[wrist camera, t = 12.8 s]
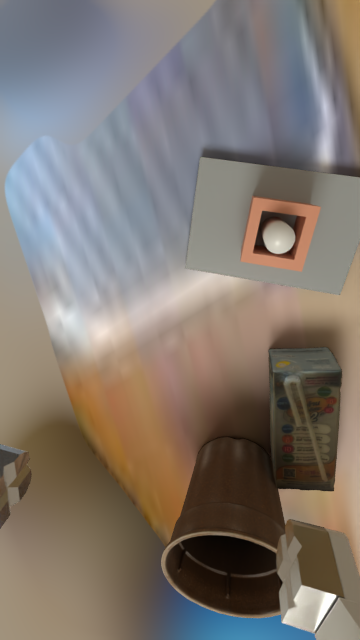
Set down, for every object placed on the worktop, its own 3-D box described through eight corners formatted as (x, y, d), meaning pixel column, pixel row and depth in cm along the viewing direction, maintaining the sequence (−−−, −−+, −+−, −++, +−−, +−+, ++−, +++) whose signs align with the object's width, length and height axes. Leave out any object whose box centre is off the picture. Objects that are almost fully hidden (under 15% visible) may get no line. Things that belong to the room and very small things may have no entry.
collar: (310, 203, 32) (321, 206, 28) (294, 260, 35) (301, 271, 30) (252, 195, 33) (253, 197, 28) (240, 251, 35) (240, 261, 31)
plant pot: (241, 513, 54) (241, 634, 40) (166, 464, 53) (136, 570, 38) (309, 465, 47) (338, 590, 33) (224, 407, 46) (214, 510, 31)
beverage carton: (332, 344, 39) (348, 373, 33) (325, 457, 46) (337, 498, 40) (267, 346, 41) (271, 374, 35) (270, 455, 48) (274, 493, 42)
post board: (376, 180, 31) (418, 179, 24) (336, 291, 36) (360, 319, 29) (201, 157, 33) (189, 150, 26) (186, 266, 38) (173, 285, 31)
